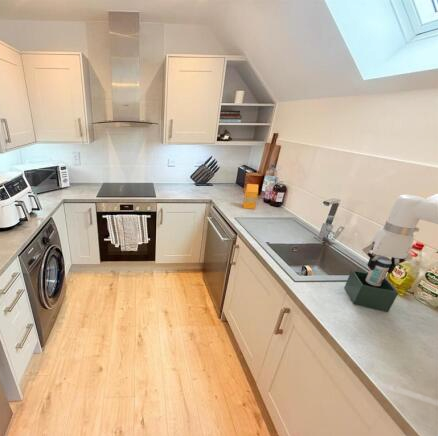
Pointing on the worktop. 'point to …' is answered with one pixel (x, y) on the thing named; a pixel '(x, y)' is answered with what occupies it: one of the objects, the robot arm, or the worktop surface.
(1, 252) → the worktop surface
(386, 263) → the white and teal cylinder
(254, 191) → the orange juice
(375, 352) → the worktop surface
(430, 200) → the robot arm
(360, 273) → the waste bin
